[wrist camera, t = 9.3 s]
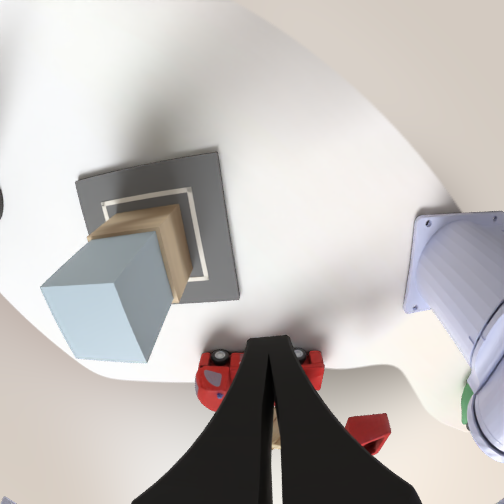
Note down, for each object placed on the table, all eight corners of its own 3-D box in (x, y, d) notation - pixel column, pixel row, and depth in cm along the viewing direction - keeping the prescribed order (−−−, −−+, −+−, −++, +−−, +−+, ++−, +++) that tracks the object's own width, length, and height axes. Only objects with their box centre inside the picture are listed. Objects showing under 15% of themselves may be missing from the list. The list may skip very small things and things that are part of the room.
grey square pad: (217, 151, 17) (216, 152, 16) (239, 296, 21) (239, 300, 21) (77, 180, 17) (74, 181, 17) (115, 303, 22) (113, 306, 21)
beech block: (179, 203, 18) (159, 226, 14) (192, 268, 20) (179, 302, 16) (116, 213, 18) (86, 237, 14) (133, 273, 20) (111, 305, 16)
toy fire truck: (197, 347, 23) (174, 449, 15) (362, 342, 23) (396, 438, 14) (203, 373, 25) (185, 468, 16) (355, 368, 24) (380, 459, 16)
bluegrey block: (173, 298, 16) (147, 363, 11) (112, 301, 16) (76, 358, 12) (155, 230, 14) (113, 282, 10) (91, 239, 14) (39, 287, 10)
